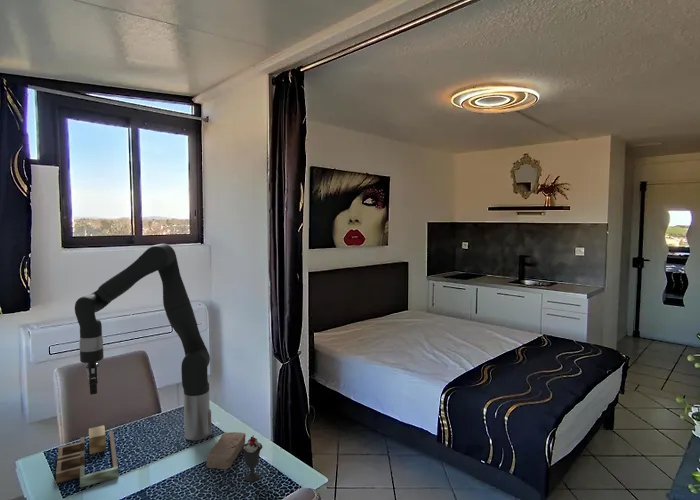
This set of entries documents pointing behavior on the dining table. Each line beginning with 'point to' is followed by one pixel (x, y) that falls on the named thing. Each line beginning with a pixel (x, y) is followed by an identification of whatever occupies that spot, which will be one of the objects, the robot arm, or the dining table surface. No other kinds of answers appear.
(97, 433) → the block
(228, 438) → the brick
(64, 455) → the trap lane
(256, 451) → the sundae
